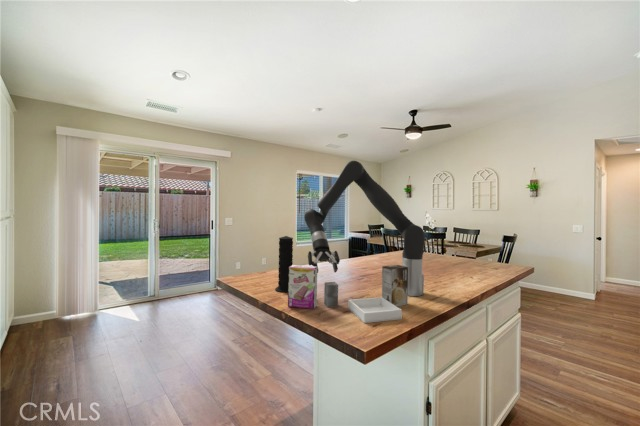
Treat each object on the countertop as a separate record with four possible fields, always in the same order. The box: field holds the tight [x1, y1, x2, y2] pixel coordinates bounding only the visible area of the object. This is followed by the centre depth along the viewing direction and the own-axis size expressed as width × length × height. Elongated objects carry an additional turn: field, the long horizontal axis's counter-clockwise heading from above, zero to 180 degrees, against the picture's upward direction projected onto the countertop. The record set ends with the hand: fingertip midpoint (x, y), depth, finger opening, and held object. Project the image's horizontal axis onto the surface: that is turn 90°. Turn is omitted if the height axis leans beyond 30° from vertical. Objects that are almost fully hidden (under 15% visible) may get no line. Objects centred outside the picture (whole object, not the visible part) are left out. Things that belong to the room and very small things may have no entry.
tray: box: [347, 296, 403, 324], centre depth 108 cm, size 15×15×4 cm
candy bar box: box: [287, 264, 318, 310], centre depth 114 cm, size 11×5×16 cm, turn 78°
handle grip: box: [274, 235, 294, 294], centre depth 137 cm, size 10×26×10 cm
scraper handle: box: [323, 281, 339, 308], centre depth 116 cm, size 4×4×9 cm
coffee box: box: [381, 264, 409, 307], centre depth 119 cm, size 9×6×16 cm
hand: (326, 271), depth 123 cm, fingers open, 8 cm apart
